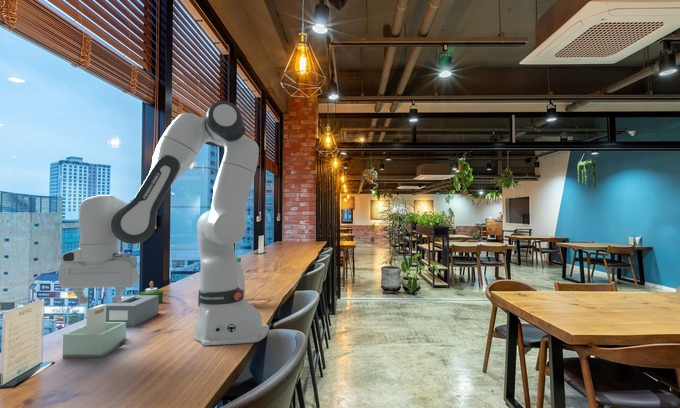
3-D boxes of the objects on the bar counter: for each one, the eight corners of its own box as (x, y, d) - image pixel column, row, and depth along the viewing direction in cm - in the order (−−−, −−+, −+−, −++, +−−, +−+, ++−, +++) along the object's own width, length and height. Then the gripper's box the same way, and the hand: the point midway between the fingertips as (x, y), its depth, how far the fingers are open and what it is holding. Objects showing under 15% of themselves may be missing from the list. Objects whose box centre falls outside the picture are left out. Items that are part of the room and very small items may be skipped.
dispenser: (158, 317, 121) (158, 293, 121) (133, 331, 107) (134, 304, 107) (130, 317, 121) (131, 293, 122) (102, 331, 107) (103, 303, 107)
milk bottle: (246, 304, 139) (247, 256, 139) (241, 310, 131) (242, 258, 132) (227, 304, 138) (228, 256, 139) (221, 310, 131) (222, 258, 131)
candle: (166, 304, 139) (167, 280, 139) (146, 309, 132) (146, 283, 132) (155, 301, 143) (156, 278, 143) (135, 306, 136) (135, 281, 136)
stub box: (125, 343, 97) (126, 322, 97) (100, 358, 87) (101, 334, 87) (91, 342, 97) (92, 322, 97) (62, 357, 87) (63, 334, 87)
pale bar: (105, 343, 95) (106, 304, 95) (91, 350, 90) (92, 309, 90) (99, 343, 95) (100, 304, 95) (85, 350, 90) (86, 309, 90)
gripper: (143, 250, 96) (144, 299, 96) (72, 252, 96) (73, 300, 96) (129, 254, 90) (129, 305, 90) (53, 255, 90) (54, 307, 90)
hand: (100, 303), depth 93 cm, fingers open, 8 cm apart
